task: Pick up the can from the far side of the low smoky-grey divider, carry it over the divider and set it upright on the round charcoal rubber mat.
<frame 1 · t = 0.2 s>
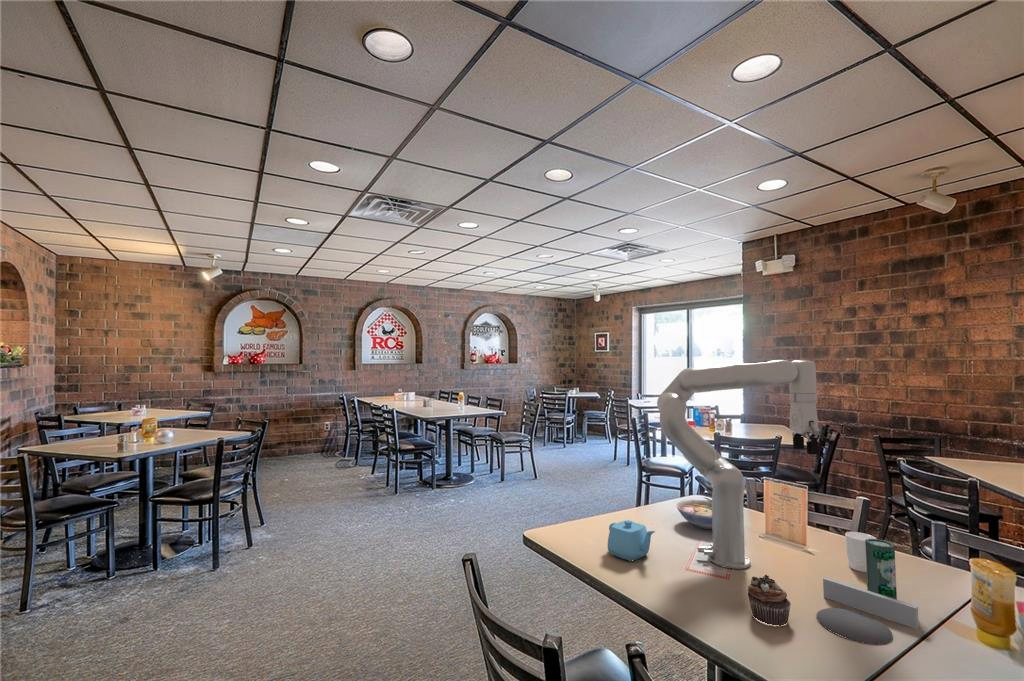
hand: (805, 451, 151), 36 cm above the table, tool pointing down, fingers open, 9 cm apart
can: (882, 598, 129), on the table
divider: (868, 611, 122), on the table
white cup: (861, 568, 148), on the table
cupcake: (769, 619, 119), on the table
ramen bowl: (706, 526, 187), on the table
mat: (853, 626, 115), on the table
teapot: (632, 557, 157), on the table
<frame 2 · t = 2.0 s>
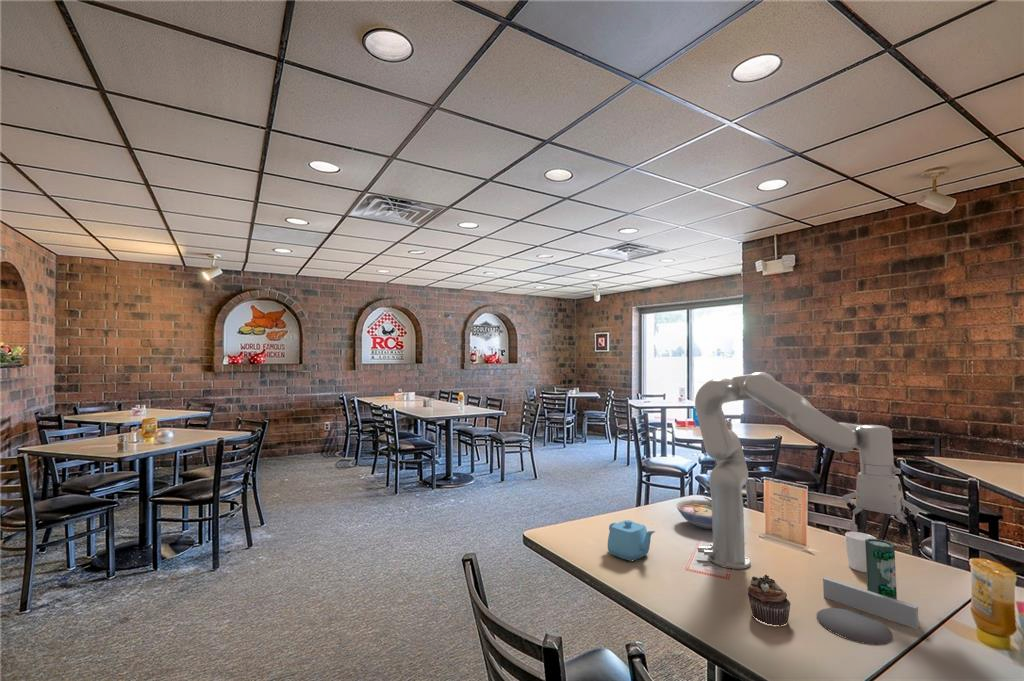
hand: (881, 532, 130), 18 cm above the table, tool pointing down, fingers open, 9 cm apart
nothing on the table moved.
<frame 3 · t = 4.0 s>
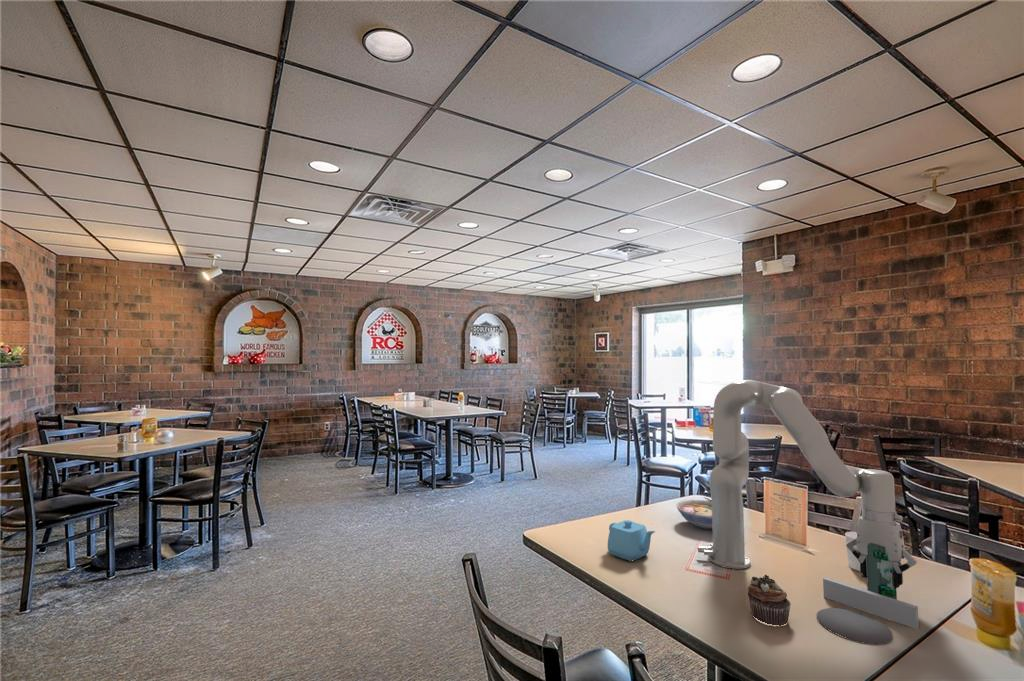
hand: (881, 580, 129), 5 cm above the table, tool pointing down, fingers closed on can, 6 cm apart
can: (882, 598, 129), on the table, touching gripper
everything else where it was.
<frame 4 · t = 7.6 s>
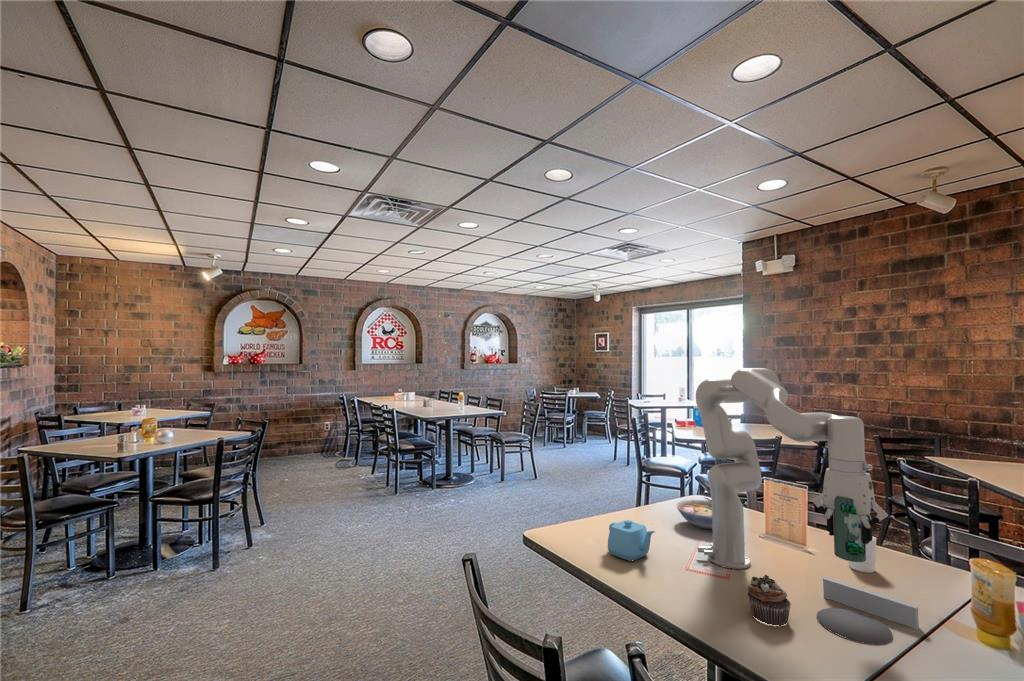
hand: (849, 537, 116), 21 cm above the table, tool pointing down, fingers closed on can, 6 cm apart
can: (850, 557, 116), point 16 cm above the table, touching gripper
everything else where it was.
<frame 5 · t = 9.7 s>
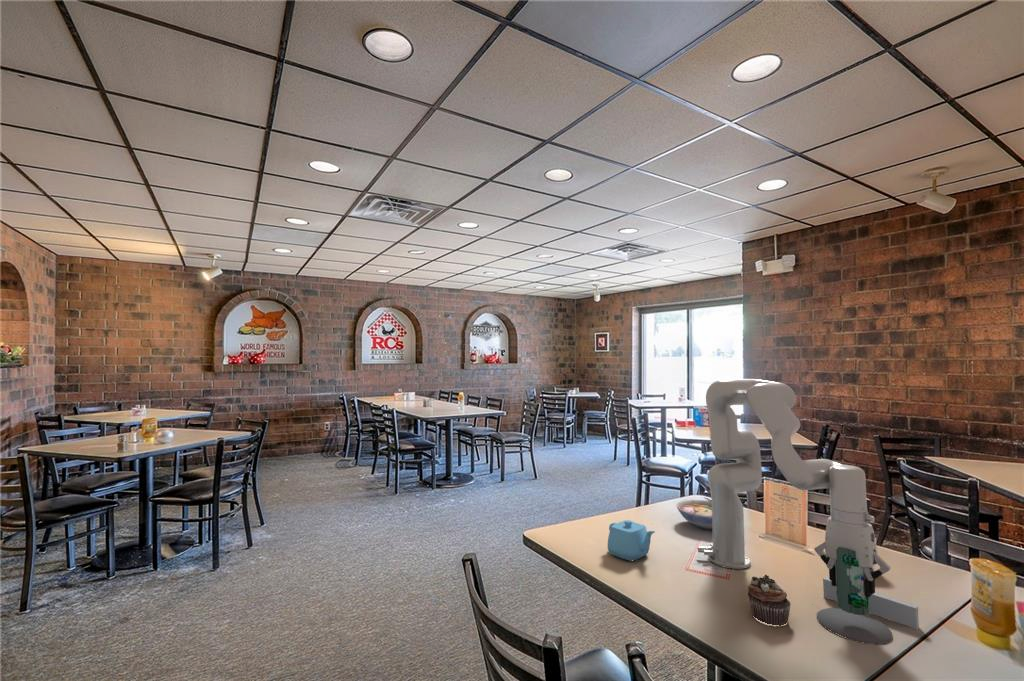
hand: (851, 589, 116), 9 cm above the table, tool pointing down, fingers closed on can, 6 cm apart
can: (852, 609, 115), point 4 cm above the table, touching gripper
everything else where it was.
when the fingers open (6 cm above the table, at t = 11.2 s): can drops 1 cm, resting on mat.
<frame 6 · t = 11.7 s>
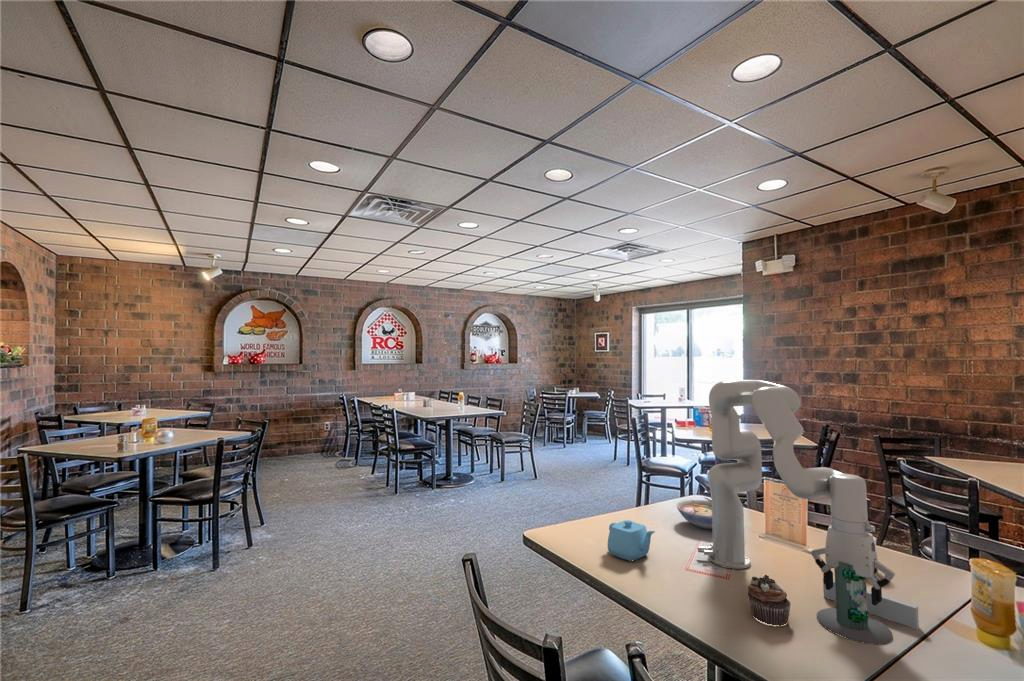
hand: (851, 595, 116), 7 cm above the table, tool pointing down, fingers open, 9 cm apart
can: (852, 623, 115), resting on mat
everything else where it was.
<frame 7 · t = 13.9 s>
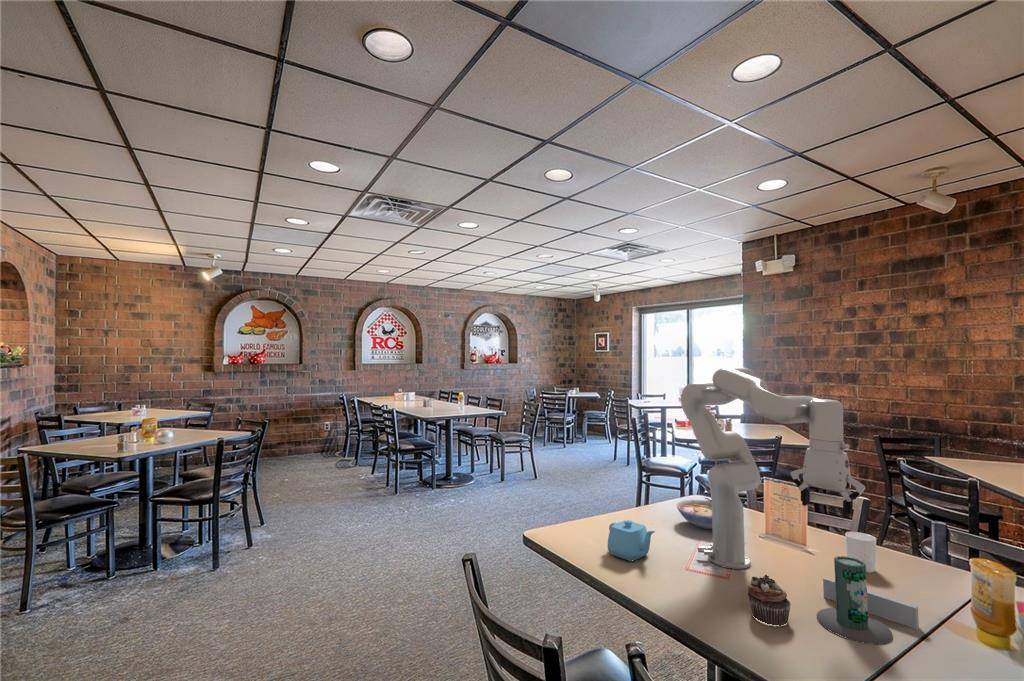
hand: (825, 509, 125), 26 cm above the table, tool pointing down, fingers open, 9 cm apart
nothing on the table moved.
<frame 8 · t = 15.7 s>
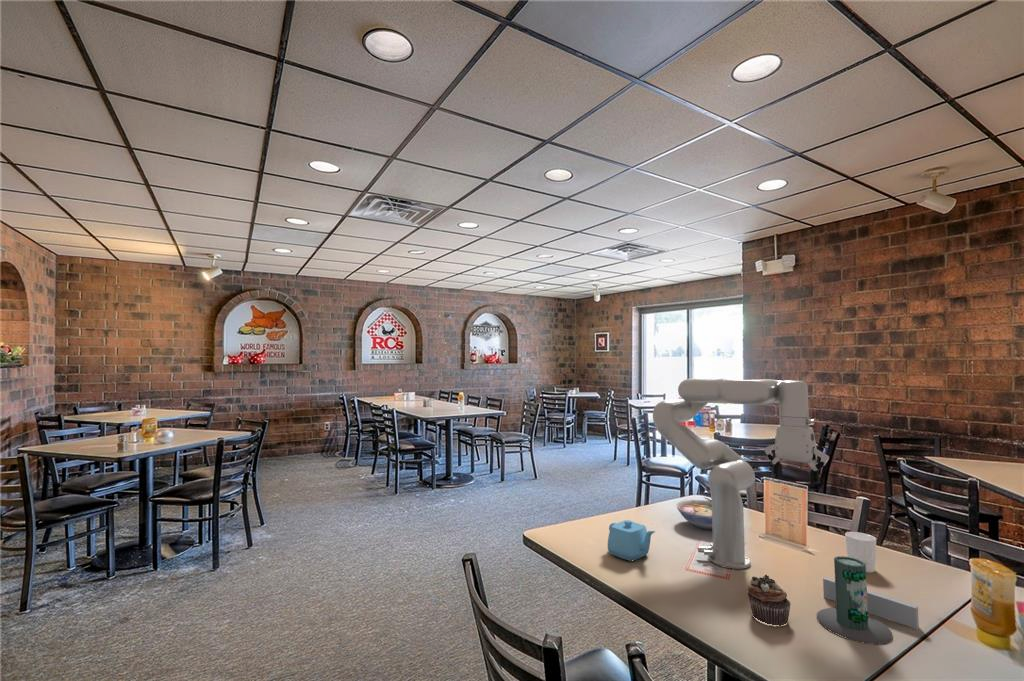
hand: (796, 480, 138), 30 cm above the table, tool pointing down, fingers open, 9 cm apart
nothing on the table moved.
at the end: can inside the target area on the mat (0.3 cm from its centre), point 0.3 cm above the mat's base; can tilted 0°; the gripper is holding nothing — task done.
